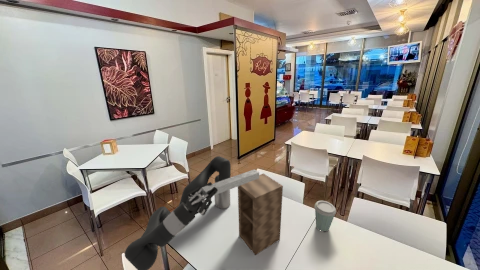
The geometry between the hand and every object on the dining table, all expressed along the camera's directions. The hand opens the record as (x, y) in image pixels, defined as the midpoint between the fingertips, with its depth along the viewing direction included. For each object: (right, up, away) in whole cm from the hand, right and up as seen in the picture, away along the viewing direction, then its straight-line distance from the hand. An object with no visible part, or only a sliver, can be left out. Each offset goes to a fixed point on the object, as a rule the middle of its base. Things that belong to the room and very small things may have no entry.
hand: (213, 186), depth 78 cm
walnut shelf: (+20, -33, +24) cm, 46 cm away
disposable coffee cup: (+56, -31, +30) cm, 71 cm away
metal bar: (+7, -1, +5) cm, 9 cm away
